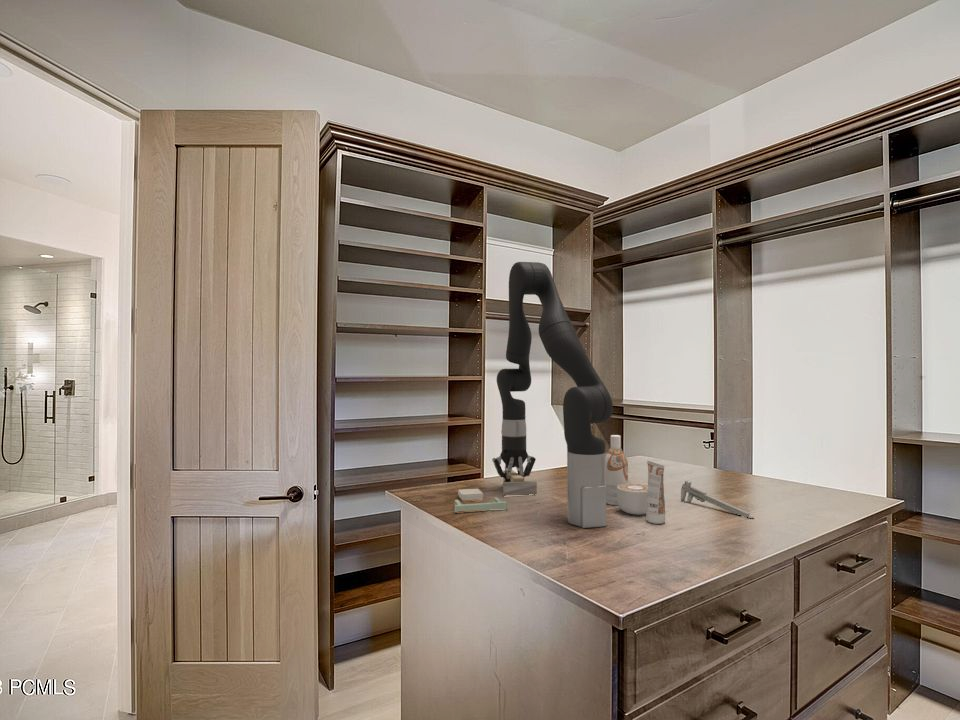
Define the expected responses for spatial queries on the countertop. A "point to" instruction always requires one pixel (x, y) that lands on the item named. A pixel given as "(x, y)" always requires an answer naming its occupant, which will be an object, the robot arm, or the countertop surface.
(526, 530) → the countertop surface
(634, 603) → the countertop surface
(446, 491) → the countertop surface
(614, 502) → the cosmetic set
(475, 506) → the tile stop
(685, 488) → the caliper
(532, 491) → the grey rectangular block
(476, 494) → the tile
